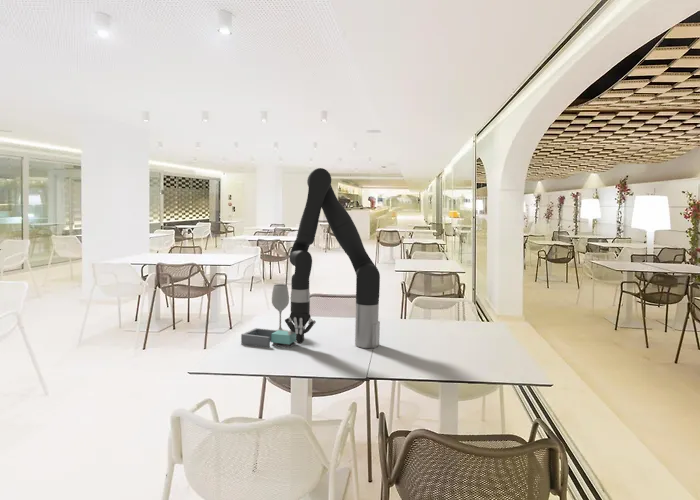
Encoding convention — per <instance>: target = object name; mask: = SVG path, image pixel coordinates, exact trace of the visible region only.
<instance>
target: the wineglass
mask: <svg viewBox="0 0 700 500" xmlns="http://www.w3.org/2000/svg"><path fill="white" fill-rule="evenodd" d="M289 295H290V294H289V288H288V284H285V283H284V284H283V283H282V284H280V283H279V284H278V283H277V284H276V283H275V284H273V288H272V292H271V304H272V306H273V308H274V309H276V310H277V311H278V314H279V318H278V319H279V325H278V326H279V327H278V329H277V330H281V331H289V330H287V329H283V328H282V312H283V311H284V310H285V309H286V308H287V307H288V305H289V303H290V296H289Z"/></svg>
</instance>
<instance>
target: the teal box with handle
mask: <svg viewBox="0 0 700 500" xmlns="http://www.w3.org/2000/svg"><path fill="white" fill-rule="evenodd" d="M277 330H278V329H277ZM270 343H272V344H271V346H272V347H280V348H288V349H289V348H292V347H293V346H295V345H296V333H295V332H292V331H291V330H290V329H289V330H288V331H281V330H278V331H276V332H274V333H272V334H271V340H270Z"/></svg>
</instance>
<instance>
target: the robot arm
mask: <svg viewBox="0 0 700 500" xmlns="http://www.w3.org/2000/svg"><path fill="white" fill-rule="evenodd" d="M306 181H307V187H308V189H307V198H306V201H305V206H304V209H303V212H302V216H301V218H300V221H299V227H298V230H297V234H296V238H295V240H294V242H293V244H292V247H291V250H290V253H289V262H290V264H291V265H292V266H293V267H294V274H292V276H291V291H290V297H289V300H290V314H289V317H288V318H286V319H284V322H285V323H286V325H287V327H288V329H289V331H290V330H291V331H292V332H295V333H296V341H295V343H296V342H297V344H302V343H304V341H305V334H307V333H308V332H310V330H311V329H312V328H313V326H315V324H316V320H314V319H313V318H311V317H312V316H311V314H310V311H311V306H310V304H311V293H310V292H311V291H310V276H311V271H312V267H313V266H312V265H313V257H312V255H311V253H310V252H309V247H311V245H312V244H313V243H314V241H315V239H316V234H317V231H318V226H319V220H320V216H321V212H323V214H324V216H325V219H326V222H327V224H328V226H329V229H330V231H331V232H332V234H333V236H334V237H335V240H336V241H337V243H338V244H339V246H340V247H341V249H342V250H343V252H344V253H345V254H346V255H347V257H348V258H349V260H350V262H351V265H352V267H353V270H354V272H355V275H356V276H355V278H356V280H355V283H356V284H355V285H356V286H355V290H356V291H355V325H354V326H355V329H354V330H355V334H354V335H355V337H354V338H355V339H354V342H355V343H354V345H355V347H358V348H362V349H376V348H378V346H379V345H380V330H381V327H380V326H381V325H380V324H381V323H380V321H379V315H380V314H379V313H380V312H379V308H380V307H379V303H380V301H379V300H380V290H381V288H380V287H381V286H380V281H381V280H380V279H381V274H380V272H379V269H378V267H377V266H376V265H375V263H374V262H373V260H372V259H371V257H370V255H369V254H368V253H367V251H366V249H365V247H364V244H363V241H362V238H361V235H360V232H359V231H358V228H357V226H356V225H355V223H354V221H353V219H352V217H351V215H350V214H349V212H348V211H347V210H346V208H345V207H344V206H343V205H342V204H341V202H340V201H339V199H338V198H337V195H336V193H335V190H334V189H333V186H332V176H331V174H330V172H329V170H327V169H325V168H323V167H318V168H317V167H316V168H314V169H313V170H312V171H311V172H310V173H309V175H308V177H307V180H306ZM307 323H308V325H307Z"/></svg>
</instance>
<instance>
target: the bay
mask: <svg viewBox="0 0 700 500" xmlns="http://www.w3.org/2000/svg"><path fill="white" fill-rule="evenodd" d="M276 331H278V329H268V328H261V327H260V328H258V327H256V328H253V329H251V330H248V331H246V332H244V333H242V334H241V335H240V337H241V338H240V339H241V340H240V343H241V345H244V346H253V347H261V348H271V347H270V346H271V345H270V344H271V334H272V333H274V332H276Z"/></svg>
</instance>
